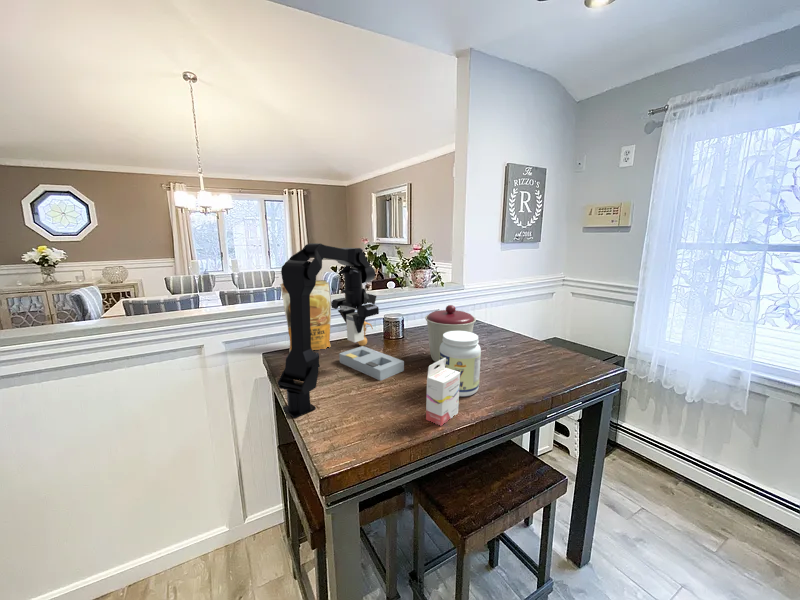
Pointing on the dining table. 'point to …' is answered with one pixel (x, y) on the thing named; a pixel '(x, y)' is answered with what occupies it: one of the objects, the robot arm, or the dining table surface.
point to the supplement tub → (462, 358)
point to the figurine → (364, 342)
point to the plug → (353, 329)
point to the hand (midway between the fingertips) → (355, 331)
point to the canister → (446, 326)
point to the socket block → (372, 362)
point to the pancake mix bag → (314, 314)
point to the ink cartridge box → (442, 393)
